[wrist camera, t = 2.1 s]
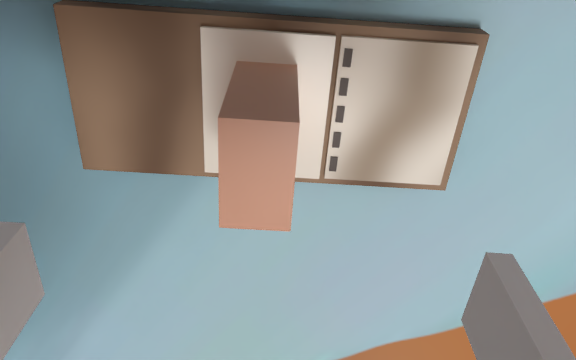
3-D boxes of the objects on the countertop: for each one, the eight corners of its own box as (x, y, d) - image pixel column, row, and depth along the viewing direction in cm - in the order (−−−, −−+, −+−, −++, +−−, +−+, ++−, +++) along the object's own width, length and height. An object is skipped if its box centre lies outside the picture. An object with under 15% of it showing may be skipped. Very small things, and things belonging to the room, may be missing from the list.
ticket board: (91, 159, 28) (81, 172, 26) (63, -1, 23) (49, 5, 22) (439, 179, 28) (447, 193, 27) (480, 28, 24) (492, 36, 22)
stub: (205, 169, 27) (179, 252, 20) (201, 25, 22) (166, 74, 16) (318, 176, 27) (327, 260, 20) (335, 35, 23) (352, 86, 16)
